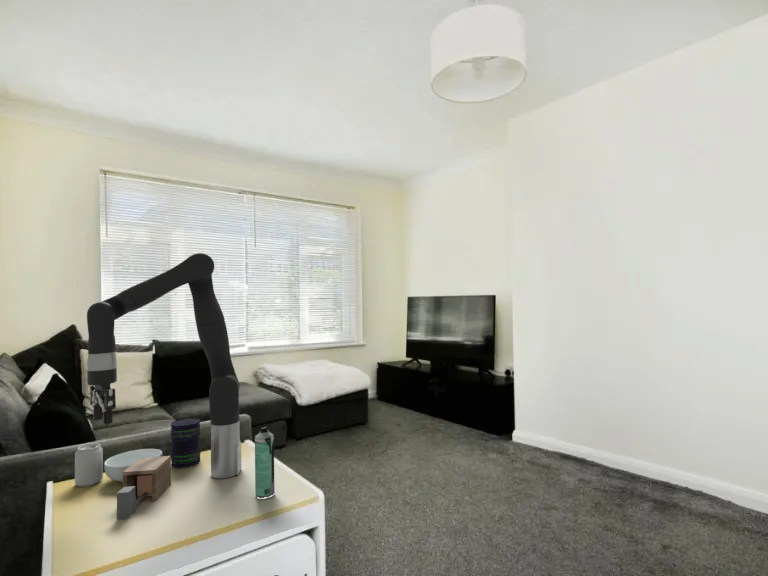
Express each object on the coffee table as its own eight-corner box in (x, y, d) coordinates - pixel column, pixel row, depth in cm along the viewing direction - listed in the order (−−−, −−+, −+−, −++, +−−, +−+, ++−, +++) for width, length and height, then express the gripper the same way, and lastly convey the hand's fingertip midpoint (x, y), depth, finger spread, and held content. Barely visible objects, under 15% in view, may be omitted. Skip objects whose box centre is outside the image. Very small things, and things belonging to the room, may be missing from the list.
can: (108, 478, 144) (108, 442, 144) (90, 488, 136) (90, 449, 137) (87, 478, 145) (87, 442, 145) (68, 487, 137) (69, 449, 138)
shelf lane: (170, 484, 138) (170, 455, 138) (155, 501, 126) (155, 469, 126) (141, 486, 137) (141, 457, 137) (122, 503, 125) (122, 472, 125)
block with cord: (161, 488, 135) (161, 465, 135) (132, 518, 116) (132, 491, 116) (144, 489, 134) (144, 466, 135) (112, 520, 115) (112, 493, 115)
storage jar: (167, 463, 157) (166, 422, 157) (194, 456, 163) (194, 416, 164) (175, 470, 150) (175, 427, 150) (204, 463, 156) (204, 421, 157)
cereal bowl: (132, 467, 154) (132, 447, 154) (173, 469, 151) (173, 449, 151) (91, 487, 137) (91, 464, 138) (136, 490, 134) (136, 467, 134)
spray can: (278, 493, 129) (277, 425, 130) (266, 501, 124) (265, 430, 125) (264, 490, 131) (263, 424, 132) (251, 497, 126) (250, 429, 127)
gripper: (124, 367, 129) (125, 422, 129) (107, 364, 138) (108, 415, 138) (96, 371, 124) (96, 428, 123) (80, 368, 133) (80, 421, 132)
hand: (102, 421), depth 130 cm, fingers open, 8 cm apart
